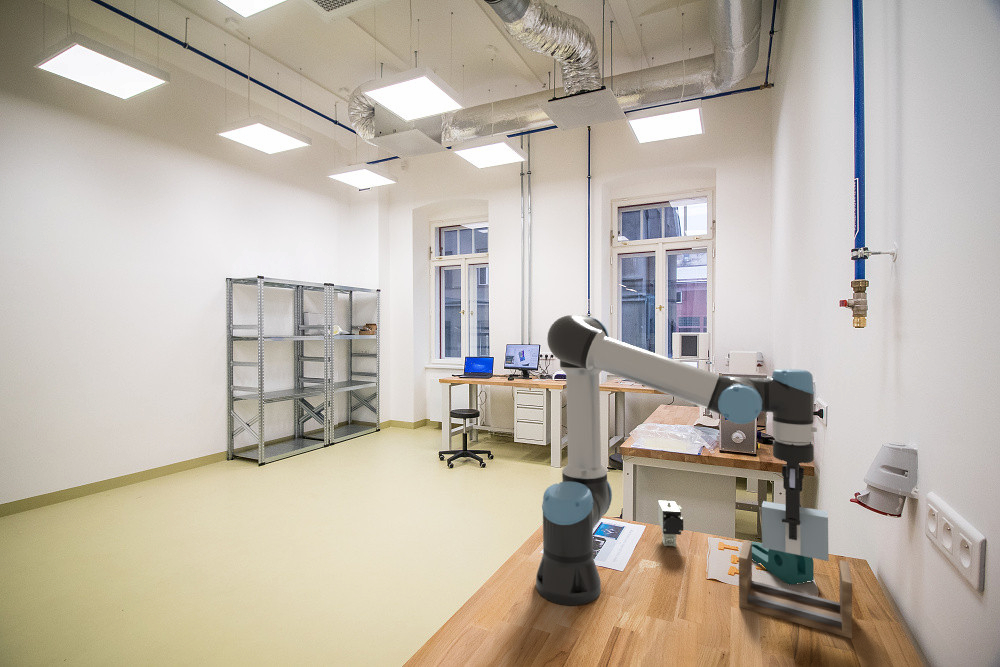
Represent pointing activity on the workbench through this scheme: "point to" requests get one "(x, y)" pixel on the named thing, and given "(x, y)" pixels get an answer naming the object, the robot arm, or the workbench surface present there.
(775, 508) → the door panel
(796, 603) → the track
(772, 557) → the bracket
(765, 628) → the workbench surface
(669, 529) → the pneumatic valve
